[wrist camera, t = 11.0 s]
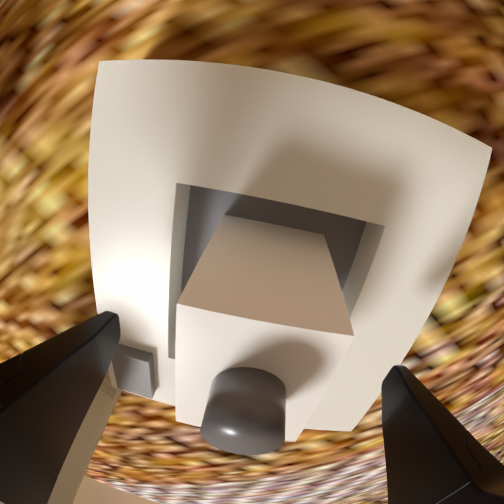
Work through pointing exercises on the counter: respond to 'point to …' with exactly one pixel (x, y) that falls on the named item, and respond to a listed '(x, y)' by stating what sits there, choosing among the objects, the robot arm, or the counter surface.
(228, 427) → the plug
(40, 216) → the counter surface
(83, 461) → the skincare box
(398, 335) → the socket plate
